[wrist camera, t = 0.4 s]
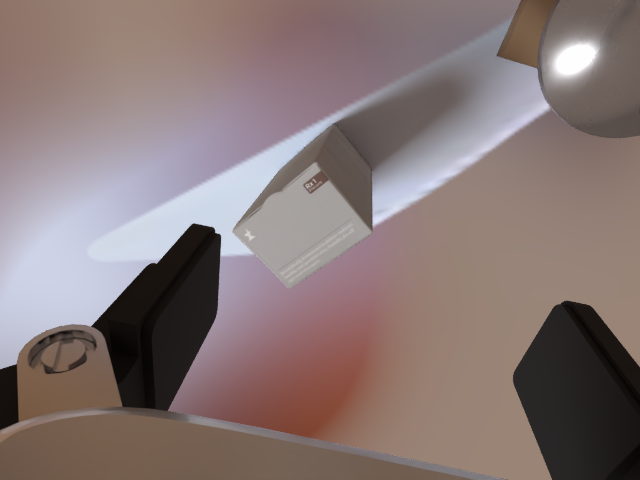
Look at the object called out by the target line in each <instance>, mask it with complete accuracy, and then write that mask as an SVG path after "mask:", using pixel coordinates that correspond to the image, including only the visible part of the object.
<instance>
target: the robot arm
mask: <svg viewBox="0 0 640 480" xmlns="http://www.w3.org/2000/svg"><path fill="white" fill-rule="evenodd" d="M220 249H221V235H220V234H217V233H215V229H214V228H213V227H208V226H204V225H199V224H192V225H191V226H190V227H189V228H188V229H187V230H186V231H185V233H184V234H183V235H182V236H181V237H180V238H179V239H178V240H177V242H176V243H175V244H174V245H173V246H172V247H171V248H170V249H169V251H168V252H167V253H166V254H165V255H164V256H163V257H162V259H161V260H160V261H159V262H158V263H157V264H155V263H151V264H149V265H148V266H147V267H146V268H145V269H144V270H143V271H142V272H141V273H140V274H139V275H138V276H137V277H136V278H135V279H134V280H133V282H132V283H131V284H130V285H129V286H128V287H127V288H126V289H125V290H124V291H123V292H122V294H121V295H120V296H119V297H118V298H117V299H116V300H115V301H114V302H113V303H112V304H111V305H110V307H109V308H108V309H107V310H106V311H105V312H104V313H103V314H102V315H101V316H100V317H99V319H98V320H97V321H96V322H95V323H94V324H93V325H92V326H91V327H90V326H86V325H73V324H72V325H66V326H59V327H56V328H53V329H50V330H47V331H45V332H43V333H41V334H39V335H38V336H36V337H34V338H33V339H32V340H31V341H29V342H28V343H27V344H26V345H25V346H24V347H23V349H22V350H21V352H20V353H19V356H18V360H17V364H16V365H13V366H9V367H6V368H3V369H0V480H506V479H502V478H497V477H493V476H487V475H483V474H479V473H474V472H469V471H464V470H460V469H455V468H450V467H446V466H441V465H436V464H431V463H427V462H422V461H417V460H412V459H408V458H403V457H398V456H394V455H389V454H384V453H380V452H374V451H370V450H365V449H360V448H356V447H351V446H346V445H341V444H336V443H331V442H326V441H322V440H317V439H312V438H307V437H302V436H297V435H292V434H288V433H283V432H278V431H273V430H268V429H264V428H258V427H254V426H248V425H243V424H238V423H232V422H226V421H221V420H216V419H211V418H206V417H200V416H195V415H190V414H184V413H177V412H170V411H168V409H169V407H170V405H171V403H172V401H173V399H174V397H175V395H176V394H177V391H178V390H179V388H180V386H181V384H182V382H183V380H184V378H185V376H186V374H187V372H188V371H189V369H190V367H191V365H192V363H193V361H194V359H195V357H196V355H197V353H198V351H199V349H200V347H201V345H202V344H203V342H204V340H205V338H206V336H207V334H208V332H209V330H210V328H211V326H212V324H213V323H214V320H215V318H216V314H217V307H218V289H219V287H218V286H219V269H220ZM513 382H514V386H515V388H516V391H517V393H518V396H519V398H520V401H521V403H522V406H523V408H524V410H525V413H526V415H527V418H528V421H529V423H530V426H531V428H532V431H533V433H534V435H535V438H536V440H537V443H538V445H539V448H540V450H541V453H542V455H543V458H544V460H545V463H546V465H547V468H548V470H549V473H550V475H551V478H552V480H640V367H639V366H638V365H637V363H636V362H635V361H634V359H633V358H632V357H631V356H630V354H629V353H628V352H627V351H626V349H625V348H624V347H623V346H622V344H621V343H620V342H619V341H618V339H617V338H616V337H615V335H614V334H613V333H612V332H611V330H610V329H609V328H608V327H607V325H606V324H605V323H604V321H603V320H602V319H601V318H600V316H599V315H598V314H597V313H596V311H595V310H594V309H593V308H592V307H591V306H589V305H586V304H581V303H576V302H571V301H564V302H562V303H561V304H559V305H556V306H554V308H553V309H552V311H551V312H550V314H549V316H548V317H547V319H546V321H545V322H544V324H543V326H542V327H541V329H540V331H539V332H538V334H537V335H536V337H535V339H534V340H533V342H532V343H531V345H530V347H529V348H528V350H527V352H526V353H525V355H524V357H523V358H522V360H521V361H520V363H519V365H518V366H517V368H516V370H515V372H514V375H513Z"/></svg>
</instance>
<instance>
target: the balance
mask: <svg viewBox="0 0 640 480" xmlns="http://www.w3.org/2000/svg"><path fill="white" fill-rule="evenodd" d="M537 67H538V78H539V82H540V86H541V90H542V92H543V95H544V97H545V100H546V101H547V103H548V104H549V106H550V108H551V109H552V110H553V111H554V113H555V114H556V115H557V116H558V117H559V118H561V119H562V120H563V121H564V122H565V123H567V124H569V125H570V126H572V127H574V128H576V129H578V130H580V131H582V132H585V133H588V134H591V135H595V136H600V137H607V138H625V137H633V136H639V135H640V0H556V1H555V3H554V5H553V7H552V8H551V10H550V13H549V15H548V18H547V20H546V22H545V25H544V28H543V32H542V35H541V38H540V44H539V49H538V63H537Z"/></svg>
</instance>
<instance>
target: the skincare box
mask: <svg viewBox="0 0 640 480" xmlns="http://www.w3.org/2000/svg"><path fill="white" fill-rule="evenodd" d="M233 233H234V234H235V235H236V236H237V237H238V238H239V239H240V240H241V241H242V242H243V243H244V244H245V245H246V246H247V247H248V248H249V249H250V250H251V251H252V252H253V253H254V254H255V255H256V256H257V257H258V258H259V259H260V260H261V261H262V262H263V263H264V264H265V265H266V266H267V267H268V268H269V269H270V270H271V271H272V272H273V274H274V275H275V276H276V277H277V278H278V279H279V280H280V281H281V282H282V283H283V284H284V285H285V286H286V287H288V289H290V288H292V287H293V286H295V285H296V284H298V283H299V282H301V281H303V280H304V279H306V278H307V277H309V276H310V275H312V274H313V273H315V272H316V271H318V270H319V269H321V268H322V267H324V266H325V265H327V264H328V263H330V262H331V261H333V260H334V259H336V258H337V257H338V256H340V255H342V254H343V253H345V252H346V251H347V250H349V249H350V248H352V247H353V246H354V245H356V244H358V243H359V242H360V241H362V240H363V239H365V238H366V237H368V236H369V235H370V234H372V233H373V230H372V169H371V168H370V166H369V165H368V164H367V163H366V161H365V160H364V159H363V158H362V156H361V155H360V154H359V153H358V152H357V150H356V149H355V148H354V147H353V145H352V144H351V143H350V142H349V140H348V139H347V138H346V137H345V135H344V134H343V133H342V132H341V130H340V129H339V128H338V127H337V125H336V124H335V123H334V124H332V125H331V126H330V127H329V128H327V129H326V130H325V131H324V132H323V133H321V134H320V135H319V136H318V137H316V138H315V139H314V140H313V141H312V142H311V143H309V144H308V145H307V146H306V147H305V148H304V149H303V150H302V151H300V152H299V153H298V154H297V155H296V156H295V157H294V158H293V159H292V160H290V161H289V162H288V163H287V164H286V165H285V166H284V167H282V168H281V169H280V170H279V171H278V172H277V174H276V175H275V176H274V178H273V179H272V180H271V181H270V183H269V184H268V185H267V187H266V188H265V189H264V190H263V191H262V193H261V194H260V195H259V197H258V198H257V199H256V200H255V202H254V203H253V204H252V205H251V207H250V208H249V209H248V210H247V212H246V213H245V214H244V215H243V217H242V218H241V219H240V221H239V222H238V223H237V224H236V226H235V227H234V229H233Z"/></svg>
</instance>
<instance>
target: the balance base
mask: <svg viewBox="0 0 640 480" xmlns="http://www.w3.org/2000/svg"><path fill="white" fill-rule="evenodd" d="M555 1H556V0H521V2H520V4H519V7H518V9H517V11H516V13H515V16H514V18H513V20H512V22H511V25H510V27H509V29H508V31H507V34H506V36H505V38H504V40H503V43H502V45H501V47H500V49H499V52H498V54H497V56H499V57H502V58H505V59H509V60H512V61H515V62H519V63H522V64H525V65H529V66H532V67H535V68H538V67H537V63H538V49H539V44H540V38H541V35H542V32H543V28H544V25H545V22H546V20H547V18H548V15H549V13H550V10H551V8H552V7H553V5H554V3H555Z"/></svg>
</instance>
